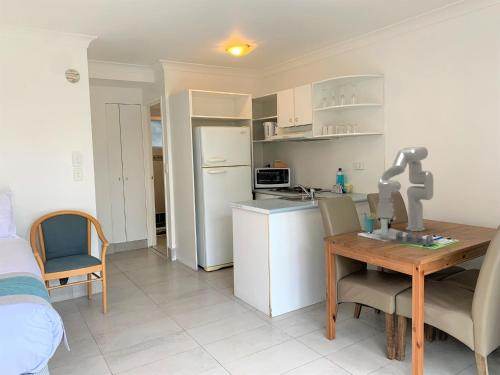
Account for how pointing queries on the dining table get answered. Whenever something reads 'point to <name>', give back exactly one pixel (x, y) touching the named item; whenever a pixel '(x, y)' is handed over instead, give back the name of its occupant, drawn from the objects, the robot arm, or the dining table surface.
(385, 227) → the pale green rectangular prism
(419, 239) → the rack
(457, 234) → the dining table surface
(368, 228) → the cup
